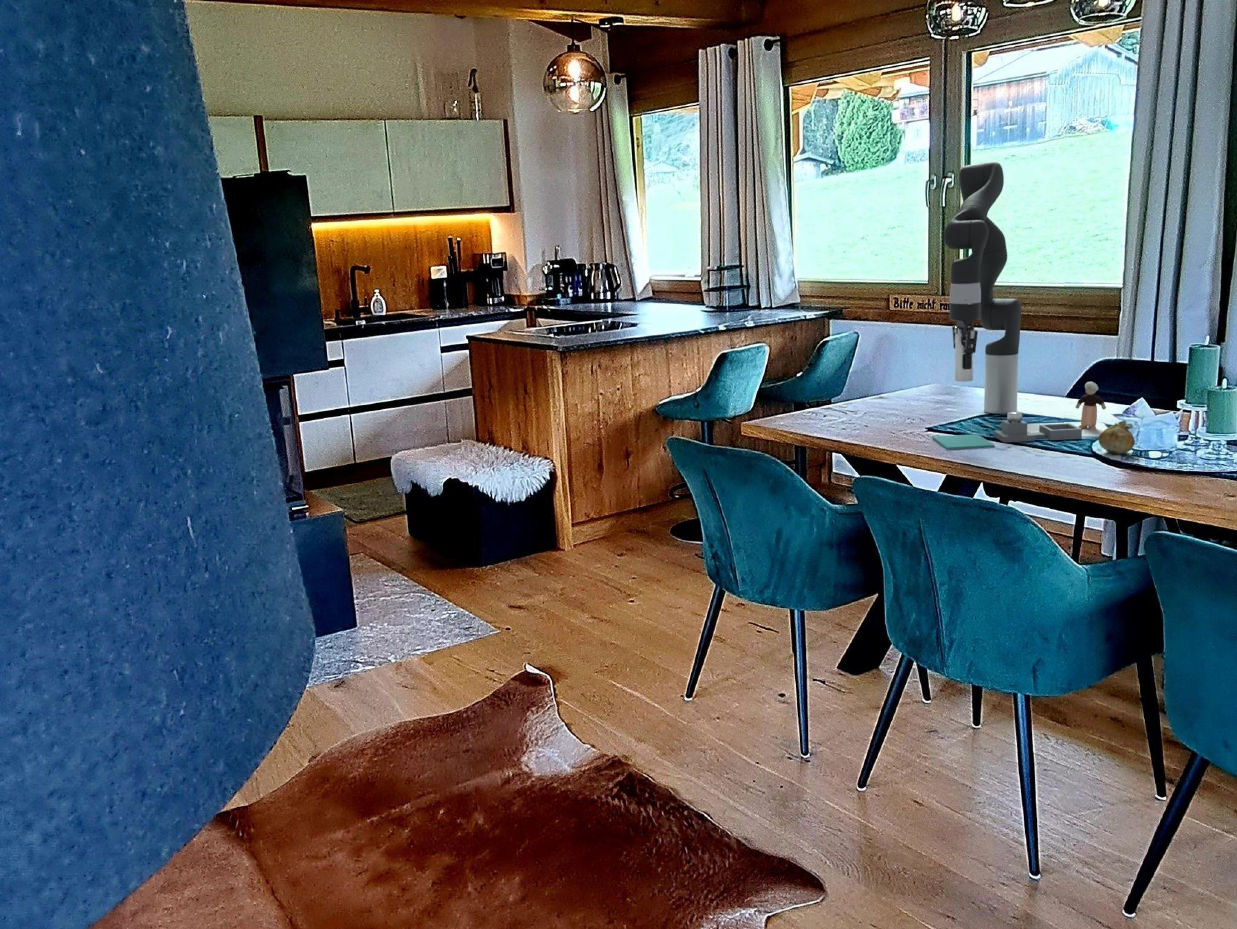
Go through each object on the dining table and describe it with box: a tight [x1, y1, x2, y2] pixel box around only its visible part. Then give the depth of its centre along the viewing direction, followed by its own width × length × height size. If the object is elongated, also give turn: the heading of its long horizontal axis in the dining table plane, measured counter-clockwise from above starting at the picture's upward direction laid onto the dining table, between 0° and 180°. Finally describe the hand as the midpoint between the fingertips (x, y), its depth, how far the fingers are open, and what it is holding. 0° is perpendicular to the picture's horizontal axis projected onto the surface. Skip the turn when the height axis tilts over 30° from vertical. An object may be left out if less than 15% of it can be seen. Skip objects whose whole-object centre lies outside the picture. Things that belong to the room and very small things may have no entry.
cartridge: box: [954, 334, 974, 382], centre depth 275 cm, size 4×4×13 cm
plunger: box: [1006, 411, 1023, 423], centre depth 281 cm, size 4×4×4 cm
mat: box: [932, 433, 996, 451], centre depth 280 cm, size 14×12×1 cm
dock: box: [993, 419, 1083, 443], centre depth 281 cm, size 8×20×4 cm, turn 89°
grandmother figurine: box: [1075, 381, 1107, 430], centre depth 287 cm, size 8×4×13 cm, turn 62°
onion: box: [1098, 420, 1136, 455], centre depth 259 cm, size 8×8×8 cm
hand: (964, 367), depth 276 cm, fingers closed on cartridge, 4 cm apart
